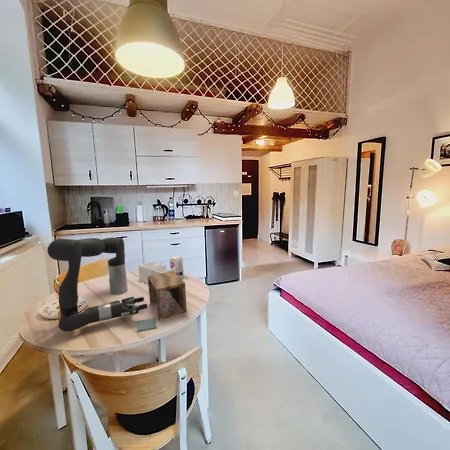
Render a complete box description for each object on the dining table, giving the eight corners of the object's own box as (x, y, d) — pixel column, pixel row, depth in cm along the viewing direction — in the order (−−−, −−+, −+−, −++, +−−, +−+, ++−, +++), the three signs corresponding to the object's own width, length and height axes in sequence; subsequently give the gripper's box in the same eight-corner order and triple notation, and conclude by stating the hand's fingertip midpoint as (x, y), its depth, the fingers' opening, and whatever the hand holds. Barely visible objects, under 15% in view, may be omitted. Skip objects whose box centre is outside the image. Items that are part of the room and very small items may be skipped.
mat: (136, 332, 112) (136, 330, 112) (137, 322, 120) (137, 321, 120) (156, 328, 114) (156, 327, 114) (155, 318, 122) (155, 317, 122)
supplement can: (173, 281, 168) (171, 259, 165) (169, 277, 175) (168, 256, 172) (185, 279, 171) (183, 257, 169) (181, 275, 179) (180, 254, 176)
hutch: (158, 320, 121) (156, 289, 118) (150, 303, 138) (147, 276, 135) (186, 312, 127) (185, 282, 125) (175, 297, 144) (173, 271, 142)
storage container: (139, 280, 171) (138, 265, 169) (153, 275, 179) (152, 260, 178) (162, 290, 155) (161, 272, 154) (176, 284, 164) (175, 267, 162)
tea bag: (164, 305, 136) (162, 287, 134) (173, 308, 132) (172, 290, 130) (159, 308, 132) (157, 290, 131) (168, 311, 129) (167, 293, 127)
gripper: (110, 309, 112) (147, 300, 120) (108, 297, 125) (142, 289, 132) (111, 325, 114) (149, 315, 121) (109, 311, 126) (143, 303, 133)
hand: (145, 302), depth 127 cm, fingers open, 8 cm apart
